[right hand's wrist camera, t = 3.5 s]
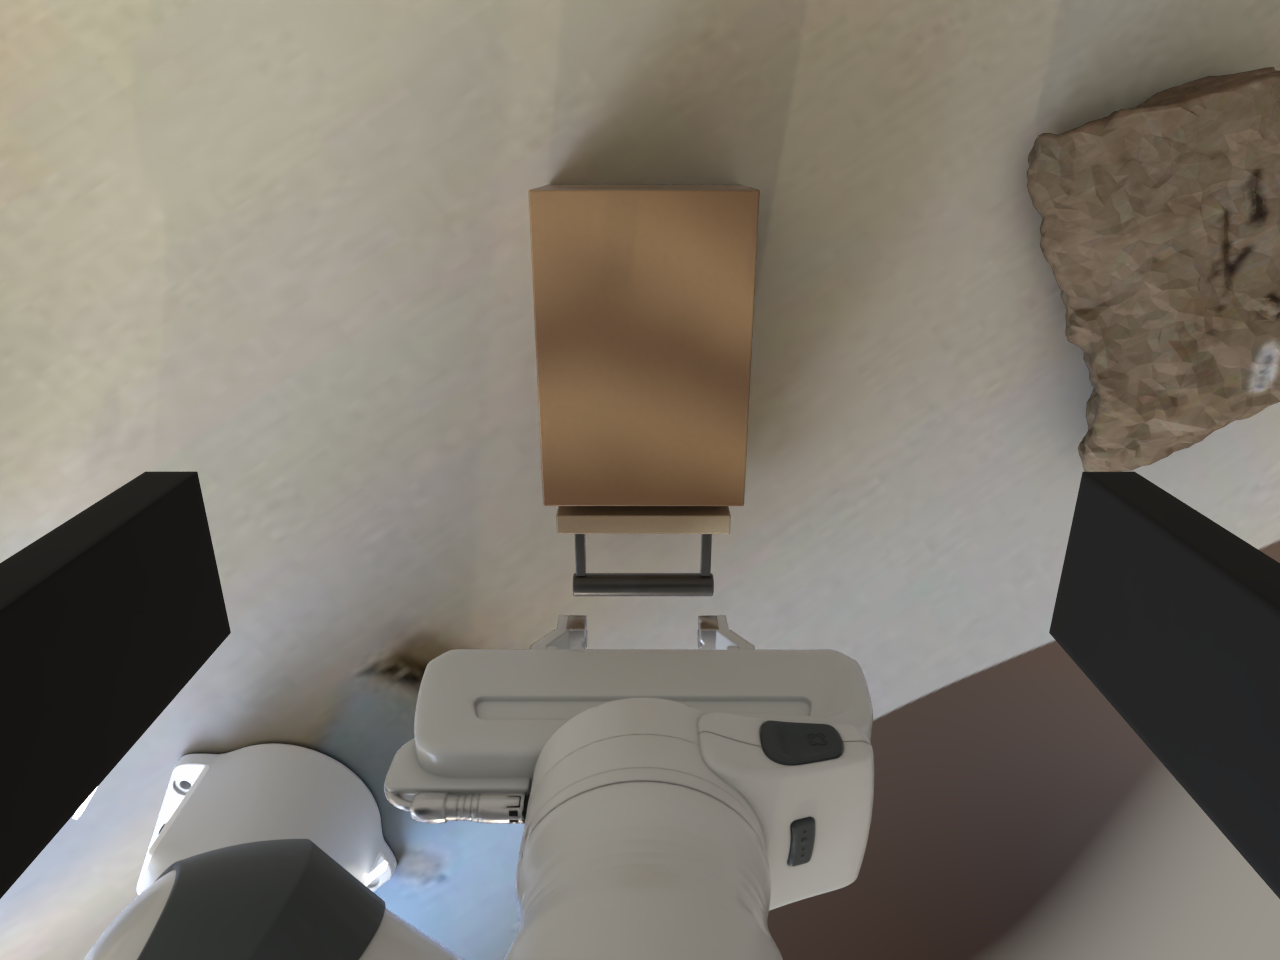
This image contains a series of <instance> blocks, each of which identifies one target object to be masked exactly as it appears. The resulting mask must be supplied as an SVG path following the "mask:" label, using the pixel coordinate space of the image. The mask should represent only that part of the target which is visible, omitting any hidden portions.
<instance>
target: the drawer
mask: <svg viewBox="0 0 1280 960" xmlns="http://www.w3.org/2000/svg"><path fill="white" fill-rule="evenodd" d="M556 518H557V533H558V534H575V553H576V573H574V575H573V595H574V596H713V591H714V580H713V574H712V573H710V570H711V541H712V534H729V533H730V518H731V516H730V512H729V508H728V506H559V507H558V512H557V516H556ZM585 534H701V567H700V573H586V549H585Z"/></svg>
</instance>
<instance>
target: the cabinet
mask: <svg viewBox="0 0 1280 960" xmlns="http://www.w3.org/2000/svg"><path fill="white" fill-rule="evenodd" d="M529 209H530V230H531V252H532V273H533V295H534V316H535V338H536V359H537V381H538V402H539V424H540V445H541V467H542V488H543V505H544V506H743V505H744V493H745V473H746V453H747V432H748V412H749V392H750V372H751V352H752V332H753V312H754V292H755V272H756V252H757V232H758V212H759V190H757V189H753V188H749V187H746V186H742V185H546V186H542V187H539V188H535V189H532V190H529Z"/></svg>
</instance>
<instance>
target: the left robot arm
mask: <svg viewBox="0 0 1280 960" xmlns="http://www.w3.org/2000/svg"><path fill="white" fill-rule="evenodd" d="M586 628H587V616H578V615H569V616H568V615H560V616H559V619H558V624H557V629H556V630H553V631H552V632H550V633H549V634H547V635H546V636H544V637H543V638H541V639H540V640H538V641H537V642H535V643H534V644H532V645H531V648H530V650H506V649H455V650H450V651H447V652H445V653H443V654H442V655H440V656H438V657H436V658H435V659H433V660H431V661H430V662H429V663H428V665H427V667H426V669H425V672H424V675H423V678H422V682H421V686H420V690H419V694H418V699H417V704H416V711H415V720H414V736H415V738H413V739H411V740H410V741H408V742H406V743H405V744H404V745H403V746H402V747H401V748H400V749H399V750H398V751H397V752H396V754H395V756H394V758H393V761H392V763H391V766H390V768H389V771H388V773H387V776H386V779H385V782H384V793H385V796H386V798H387V800H388V801H389V802H390V803H391V804H392V805H393V806H394V807H396V808H398V809H400V810H402V811H406V812H411V817H412V819H413V820H415V821H418V822H424V823H445V822H447V821H448V820H451V821H457V820H458V819H459V821H464V820H466V821H473V822H480V823H524V830H523V836H522V841H521V847H520V853H519V859H518V865H517V870H516V887H515V895H516V904H517V910H518V916H519V922H520V925H519V929H518V933H517V935H516V937H515V939H514V941H513V943H512V944H511V946H510V948H509V951H508V953H507V955H506V957H505V959H504V960H783V959H782V956H781V954H780V951H779V950H778V948H777V946H776V944H775V942H774V940H773V939H772V937H771V935H770V933H769V930H768V926H767V918H768V913H769V911H770V910H772V909H775V908H778V907H781V906H784V905H787V904H789V903H793V902H796V901H799V900H802V899H805V898H809V897H812V896H816V895H819V894H822V893H826V892H830V891H833V890H836V889H840V888H843V887H845V886H847V885H849V884H851V883H853V882H854V881H855V880H856V878H857V876H858V874H859V870H860V867H861V864H862V861H863V857H864V853H865V849H866V845H867V840H868V835H869V829H870V823H871V817H872V808H873V797H874V756H873V749H872V746H871V744H870V740H871V731H872V721H873V710H872V704H871V698H870V694H869V690H868V686H867V683H866V680H865V677H864V674H863V672H862V669H861V667H860V665H859V664H858V662H857V661H855V660H854V659H852V658H850V657H848V656H847V655H845V654H843V653H841V652H838V651H836V650H755V647H754V645H752V644H751V643H749V642H748V641H746V640H745V639H743V638H742V637H740V636H739V635H737V634H736V633H735V632H733V631H732V630H729V629H728V624H727V619H726V616H725V615H719V616H698V628H699V629H698V648H699V650H586V647H587V629H586ZM187 781H188V782H187ZM96 789H97V788H96ZM96 789H95V790H96ZM95 790H94V791H93V792H92V793H91V795H90V796H89V797H88V798H87V799H86V800H85V802H84V803H83V804H82V805H81V806H80V807H79V808H78V810H77V811H76V813H75V814H74V816H73V818H74V819H76V820H77V819H78V818H79V816H80V815H81V814H82V813H83V811H84V809H85V808H86V806H87V804H88V802H89V801H90V799H91V797H92V795H93V794H94V792H95ZM396 866H397V861H396V858H395V856H394V854H393V853H392V851H391V849H390V848H389V846H388V845H387V843H386V842H385V840H384V838H383V834H382V825H381V817H380V812H379V809H378V806H377V803H376V801H375V799H374V797H373V795H372V794H371V792H370V790H369V789H368V788H367V786H366V785H365V784H364V783H363V781H362V780H361V779H360V778H359V777H358V776H357V775H356V774H355V773H353V772H352V771H351V770H350V769H348V768H347V767H346V766H344V765H343V764H341V763H340V762H338V761H337V760H335V759H333V758H331V757H329V756H327V755H325V754H322V753H320V752H317V751H315V750H312V749H308V748H305V747H301V746H296V745H289V744H278V743H269V744H258V745H252V746H248V747H244V748H241V749H238V750H235V751H232V752H228V753H224V754H187V755H184V756H182V757H181V758H180V759H179V760H178V762H177V764H176V765H175V767H174V769H173V771H172V774H171V778H170V781H169V784H168V787H167V790H166V794H165V797H164V800H163V803H162V806H161V810H160V813H159V816H158V819H157V822H156V825H155V829H154V832H153V835H152V838H151V841H150V845H149V848H148V851H147V854H146V857H145V861H144V864H143V867H142V870H141V873H140V876H139V880H138V883H137V888H136V890H137V893H138V896H137V897H136V898H135V899H134V900H133V901H132V902H131V903H130V904H129V905H128V906H127V907H126V908H125V909H124V910H123V911H122V912H121V913H120V914H119V915H118V916H117V918H116V919H115V920H114V921H113V922H112V923H111V924H110V925H109V926H108V928H107V929H106V930H105V931H104V933H103V934H102V935H101V936H100V938H99V939H98V940H97V941H96V943H95V944H94V945H93V947H92V948H91V949H90V951H89V952H88V954H87V955H86V956H85V958H84V959H83V960H464V959H463V958H461V957H460V956H458V955H456V954H455V953H453V952H452V951H450V950H449V949H447V948H446V947H444V946H443V945H441V944H440V943H438V942H437V941H435V940H433V939H432V938H430V937H429V936H427V935H426V934H424V933H423V932H421V931H420V930H418V929H417V928H415V927H414V926H412V925H411V924H409V923H407V922H406V921H404V920H403V919H401V918H400V917H398V916H397V915H395V914H394V913H392V912H391V911H389V910H388V909H386V907H385V902H384V901H383V900H382V899H381V898H380V897H378V896H377V895H376V894H375V893H374V891H375V890H377V889H378V888H379V887H380V886H382V885H383V884H384V883H385V882H387V881H388V880H389V879H390V878H391V877H392V875H393V873H394V871H395V869H396Z"/></svg>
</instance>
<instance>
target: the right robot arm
mask: <svg viewBox="0 0 1280 960" xmlns="http://www.w3.org/2000/svg"><path fill="white" fill-rule="evenodd" d="M230 633H231V632H230V627H229V622H228V617H227V613H226V608H225V603H224V598H223V593H222V589H221V584H220V579H219V574H218V569H217V565H216V560H215V555H214V550H213V545H212V541H211V536H210V531H209V526H208V521H207V517H206V512H205V507H204V502H203V497H202V493H201V488H200V483H199V478H198V473H197V472H144V473H143V474H141V475H140V476H138V477H136V478H135V479H133V480H132V481H130V482H129V483H127V484H125V485H124V486H122V487H121V488H119V489H117V490H116V491H114V492H113V493H111V494H109V495H108V496H106V497H105V498H103V499H102V500H100V501H98V502H97V503H95V504H94V505H92V506H90V507H89V508H87V509H86V510H84V511H83V512H81V513H79V514H78V515H76V516H75V517H73V518H71V519H70V520H68V521H67V522H65V523H64V524H62V525H60V526H59V527H57V528H56V529H54V530H52V531H51V532H49V533H48V534H46V535H44V536H43V537H41V538H40V539H38V540H37V541H35V542H33V543H32V544H30V545H29V546H27V547H25V548H24V549H22V550H21V551H19V552H18V553H16V554H14V555H13V556H11V557H10V558H8V559H6V560H5V561H3V562H2V563H0V899H1V897H2V896H3V895H4V894H5V893H6V892H7V890H8V889H9V888H10V887H11V886H12V885H13V884H14V882H15V881H16V880H17V879H18V878H19V877H20V875H21V874H22V873H23V872H24V871H25V870H26V869H27V867H28V866H29V865H30V864H31V863H32V862H33V860H34V859H35V858H36V857H37V856H38V855H39V854H40V852H41V851H42V850H43V849H44V848H45V847H46V845H47V844H48V843H49V842H50V841H51V840H52V839H53V837H54V836H55V835H56V834H57V833H58V832H59V830H60V829H61V828H62V827H63V826H64V825H65V823H66V822H67V821H68V820H69V819H70V818H71V817H72V815H73V814H74V813H75V812H76V811H77V810H78V808H79V807H80V806H81V805H82V804H83V803H84V802H85V800H86V799H87V798H88V797H89V796H90V795H91V793H92V792H93V791H94V790H95V789H96V788H97V787H98V785H99V784H100V783H101V782H102V781H103V780H104V778H105V777H106V776H107V775H108V774H109V773H110V772H111V770H112V769H113V768H114V767H115V766H116V765H117V763H118V762H119V761H120V760H121V759H122V758H123V756H124V755H125V754H126V753H127V752H128V751H129V750H130V748H131V747H132V746H133V745H134V744H135V743H136V741H137V740H138V739H139V738H140V737H141V736H142V735H143V733H144V732H145V731H146V730H147V729H148V728H149V726H150V725H151V724H152V723H153V722H154V721H155V720H156V718H157V717H158V716H159V715H160V714H161V713H162V711H163V710H164V709H165V708H166V707H167V706H168V705H169V703H170V702H171V701H172V700H173V699H174V698H175V696H176V695H177V694H178V693H179V692H180V691H181V689H182V688H183V687H184V686H185V685H186V684H187V683H188V681H189V680H190V679H191V678H192V677H193V676H194V674H195V673H196V672H197V671H198V670H199V669H200V668H201V666H202V665H203V664H204V663H205V662H206V661H207V659H208V658H209V657H210V656H211V655H212V654H213V653H214V651H215V650H216V649H217V648H218V647H219V646H220V644H221V643H222V642H223V641H224V640H225V639H226V638H227V636H228V635H229V634H230ZM1049 633H1050V634H1051V635H1052V636H1053V638H1054V639H1055V640H1056V641H1057V642H1058V643H1059V644H1060V646H1061V647H1062V648H1063V649H1064V650H1065V651H1066V653H1067V654H1068V655H1069V656H1070V657H1071V658H1072V659H1073V661H1074V662H1075V663H1076V664H1077V665H1078V666H1079V668H1080V669H1081V670H1082V671H1083V672H1084V673H1085V674H1086V676H1087V677H1088V678H1089V679H1090V680H1091V681H1092V683H1093V684H1094V685H1095V686H1096V687H1097V688H1098V689H1099V691H1100V692H1101V693H1102V694H1103V695H1104V696H1105V698H1106V699H1107V700H1108V701H1109V702H1110V703H1111V705H1112V706H1113V707H1114V708H1115V709H1116V710H1117V711H1118V713H1119V714H1120V715H1121V716H1122V717H1123V718H1124V719H1125V721H1126V722H1127V723H1128V724H1129V725H1130V726H1131V728H1132V729H1133V730H1134V731H1135V732H1136V733H1137V735H1138V736H1139V737H1140V738H1141V739H1142V740H1143V741H1144V743H1145V744H1146V745H1147V746H1148V747H1149V748H1150V750H1151V751H1152V752H1153V753H1154V754H1155V755H1156V756H1157V758H1158V759H1159V760H1160V761H1161V762H1162V763H1163V765H1164V766H1165V767H1166V768H1167V769H1168V770H1169V771H1170V773H1171V774H1172V775H1173V776H1174V777H1175V778H1176V780H1177V781H1178V782H1179V783H1180V784H1181V785H1182V786H1183V788H1184V789H1185V790H1186V791H1187V792H1188V793H1189V795H1190V796H1191V797H1192V798H1193V799H1194V800H1195V802H1196V803H1197V804H1198V805H1199V806H1200V807H1201V808H1202V810H1203V811H1204V812H1205V813H1206V814H1207V815H1208V817H1209V818H1210V819H1211V820H1212V821H1213V822H1214V823H1215V825H1216V826H1217V827H1218V828H1219V829H1220V830H1221V832H1222V833H1223V834H1224V835H1225V836H1226V837H1227V839H1228V840H1229V841H1230V842H1231V843H1232V844H1233V845H1234V847H1235V848H1236V849H1237V850H1238V851H1239V852H1240V854H1241V855H1242V856H1243V857H1244V858H1245V859H1246V860H1247V862H1248V863H1249V864H1250V865H1251V866H1252V867H1253V869H1254V870H1255V871H1256V872H1257V873H1258V874H1259V875H1260V877H1261V878H1262V879H1263V880H1264V881H1265V882H1266V884H1267V885H1268V886H1269V887H1270V888H1271V889H1272V890H1273V892H1274V893H1275V894H1276V895H1277V896H1278V897H1279V899H1280V563H1278V562H1277V561H1275V560H1274V559H1272V558H1270V557H1269V556H1267V555H1266V554H1264V553H1262V552H1261V551H1259V550H1258V549H1256V548H1255V547H1253V546H1251V545H1250V544H1248V543H1247V542H1245V541H1243V540H1242V539H1240V538H1239V537H1237V536H1236V535H1234V534H1232V533H1231V532H1229V531H1228V530H1226V529H1224V528H1223V527H1221V526H1220V525H1218V524H1216V523H1215V522H1213V521H1212V520H1210V519H1209V518H1207V517H1205V516H1204V515H1202V514H1201V513H1199V512H1197V511H1196V510H1194V509H1193V508H1191V507H1190V506H1188V505H1186V504H1185V503H1183V502H1182V501H1180V500H1178V499H1177V498H1175V497H1174V496H1172V495H1171V494H1169V493H1167V492H1166V491H1164V490H1163V489H1161V488H1159V487H1158V486H1156V485H1155V484H1153V483H1151V482H1150V481H1148V480H1147V479H1145V478H1144V477H1142V476H1140V475H1139V474H1137V473H1136V472H1083V473H1082V478H1081V483H1080V488H1079V493H1078V497H1077V502H1076V507H1075V512H1074V517H1073V521H1072V526H1071V531H1070V536H1069V541H1068V545H1067V550H1066V555H1065V560H1064V565H1063V569H1062V574H1061V579H1060V584H1059V589H1058V593H1057V598H1056V603H1055V608H1054V613H1053V617H1052V622H1051V627H1050V632H1049Z"/></svg>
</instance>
